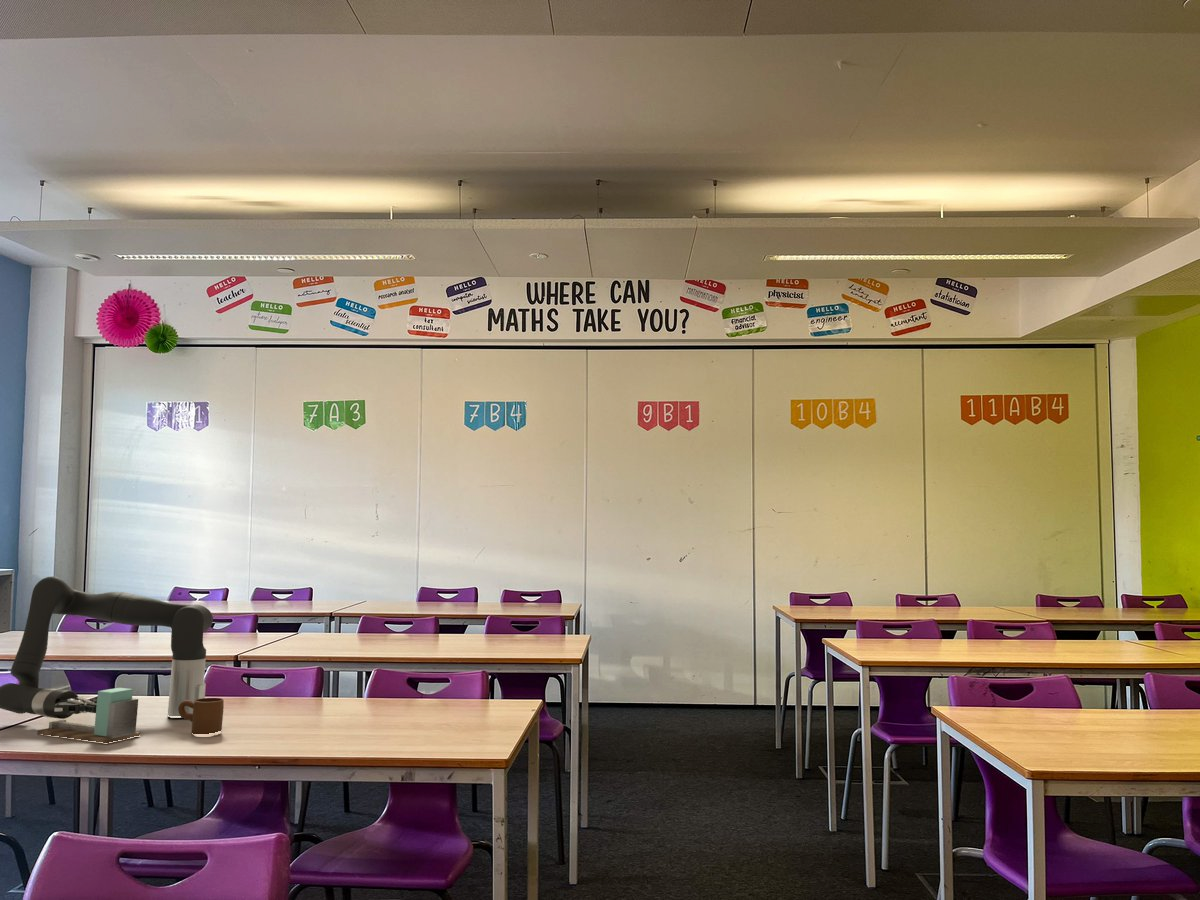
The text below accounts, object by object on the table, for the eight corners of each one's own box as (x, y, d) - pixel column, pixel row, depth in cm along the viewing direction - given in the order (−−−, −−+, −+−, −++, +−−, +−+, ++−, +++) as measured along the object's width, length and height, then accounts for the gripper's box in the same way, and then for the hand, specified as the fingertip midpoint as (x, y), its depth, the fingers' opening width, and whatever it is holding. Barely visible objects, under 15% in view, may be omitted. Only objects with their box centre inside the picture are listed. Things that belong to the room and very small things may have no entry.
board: (37, 734, 223) (37, 730, 224) (72, 727, 233) (72, 723, 233) (106, 744, 214) (106, 739, 214) (139, 737, 223) (140, 732, 223)
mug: (169, 737, 224) (172, 701, 225) (183, 731, 231) (186, 696, 232) (213, 738, 224) (216, 702, 225) (226, 732, 231) (228, 697, 232)
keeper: (93, 734, 218) (98, 691, 220) (115, 730, 224) (119, 687, 226) (107, 736, 217) (111, 692, 218) (129, 731, 222) (132, 689, 224)
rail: (43, 729, 225) (46, 695, 226) (67, 724, 231) (71, 691, 233) (111, 738, 215) (115, 703, 217) (135, 733, 222) (138, 699, 223)
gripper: (32, 692, 224) (78, 698, 217) (79, 686, 236) (123, 690, 230) (29, 721, 223) (75, 727, 216) (76, 713, 235) (120, 718, 229)
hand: (99, 708), depth 223 cm, fingers closed
